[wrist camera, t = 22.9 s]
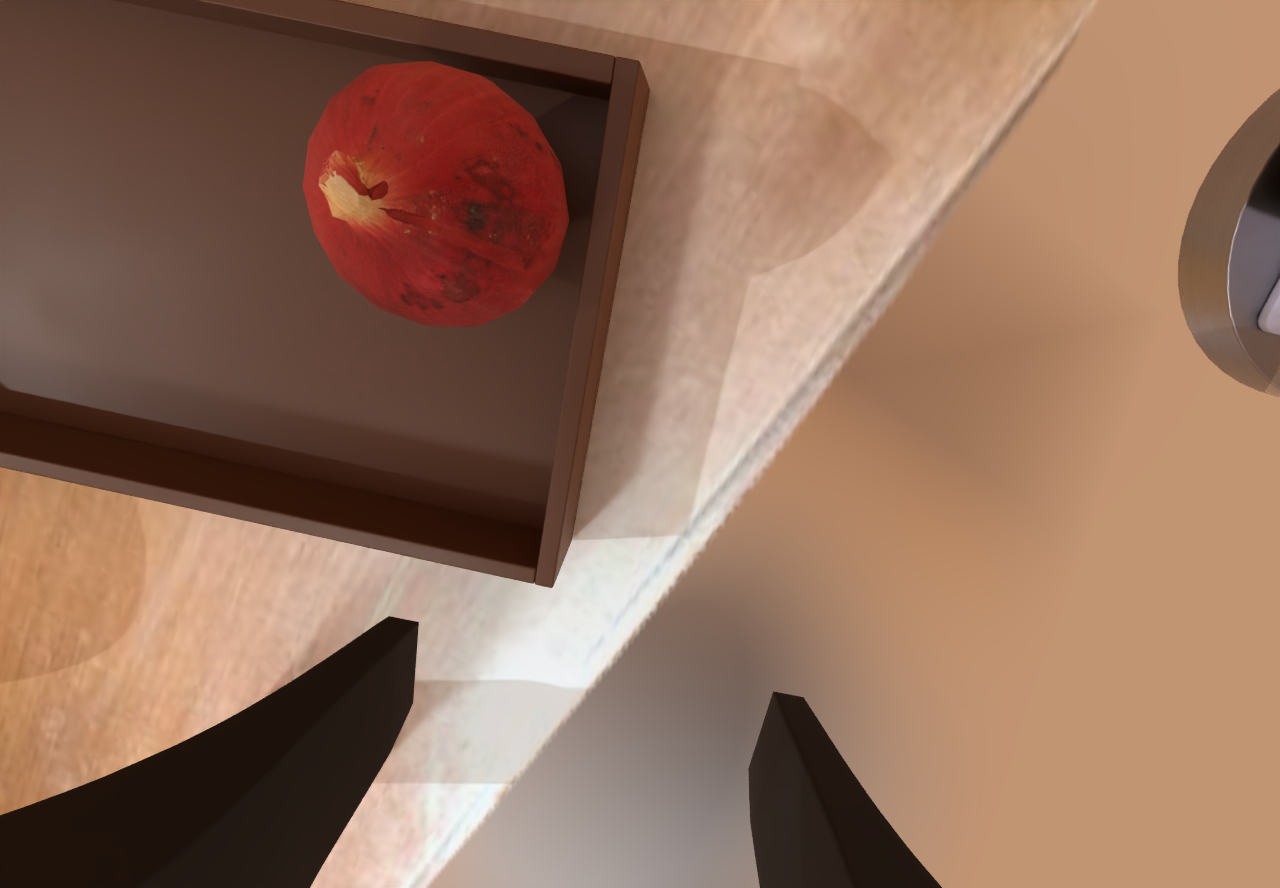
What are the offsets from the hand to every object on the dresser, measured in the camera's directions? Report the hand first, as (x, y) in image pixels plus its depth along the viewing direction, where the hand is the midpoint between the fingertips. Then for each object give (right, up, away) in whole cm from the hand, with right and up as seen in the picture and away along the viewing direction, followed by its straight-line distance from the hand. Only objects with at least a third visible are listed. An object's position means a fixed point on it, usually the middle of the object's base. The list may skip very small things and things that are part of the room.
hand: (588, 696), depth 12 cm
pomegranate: (-3, +12, +6) cm, 14 cm away
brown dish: (-15, +11, +8) cm, 20 cm away
